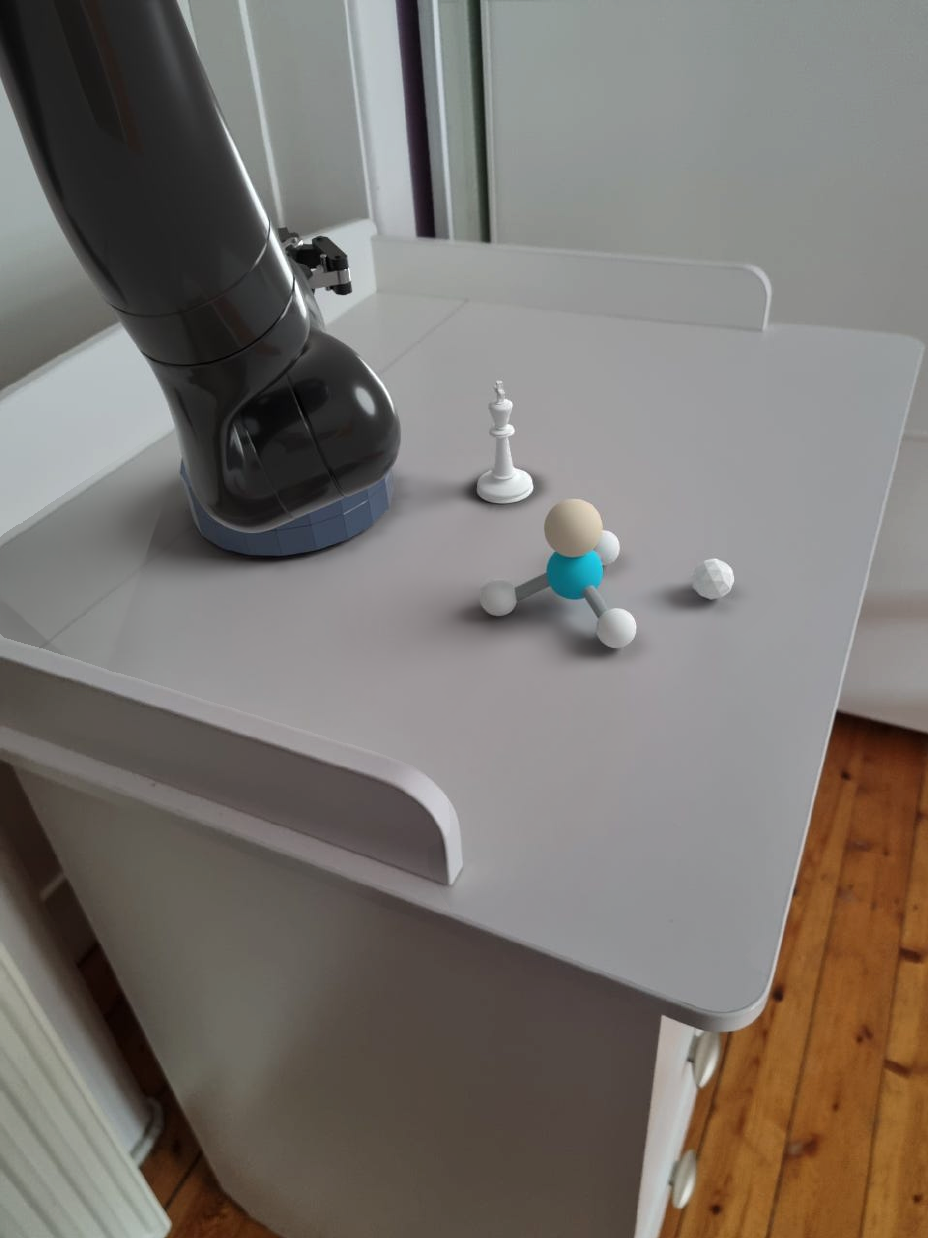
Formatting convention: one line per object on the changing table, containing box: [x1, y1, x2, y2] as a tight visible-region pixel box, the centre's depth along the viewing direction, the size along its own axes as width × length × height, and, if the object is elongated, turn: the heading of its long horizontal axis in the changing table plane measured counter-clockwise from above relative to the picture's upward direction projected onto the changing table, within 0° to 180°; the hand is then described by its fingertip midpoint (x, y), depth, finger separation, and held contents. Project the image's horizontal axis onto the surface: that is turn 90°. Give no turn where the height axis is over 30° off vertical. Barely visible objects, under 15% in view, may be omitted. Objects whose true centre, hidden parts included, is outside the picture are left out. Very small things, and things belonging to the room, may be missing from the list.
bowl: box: [179, 457, 396, 557], centre depth 81 cm, size 17×17×6 cm
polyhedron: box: [691, 557, 735, 600], centre depth 68 cm, size 3×3×3 cm
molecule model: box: [479, 498, 637, 649], centre depth 66 cm, size 12×12×9 cm
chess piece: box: [476, 380, 534, 504], centre depth 79 cm, size 5×5×10 cm
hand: (240, 247), depth 71 cm, fingers closed on lollipop, 6 cm apart
